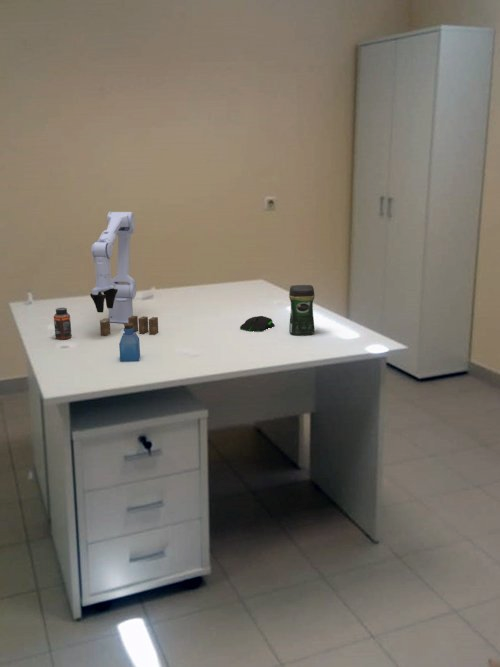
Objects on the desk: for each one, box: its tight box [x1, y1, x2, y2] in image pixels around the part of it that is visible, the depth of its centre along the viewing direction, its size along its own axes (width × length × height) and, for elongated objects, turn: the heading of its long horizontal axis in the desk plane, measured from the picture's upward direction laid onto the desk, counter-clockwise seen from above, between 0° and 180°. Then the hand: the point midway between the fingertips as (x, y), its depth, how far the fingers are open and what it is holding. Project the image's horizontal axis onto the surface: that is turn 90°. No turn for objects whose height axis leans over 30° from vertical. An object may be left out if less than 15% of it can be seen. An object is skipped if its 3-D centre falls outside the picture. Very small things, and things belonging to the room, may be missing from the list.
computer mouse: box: [239, 315, 276, 333], centre depth 282 cm, size 11×16×4 cm
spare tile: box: [99, 317, 111, 337], centre depth 272 cm, size 2×4×6 cm, turn 163°
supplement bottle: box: [53, 307, 72, 341], centre depth 267 cm, size 6×6×11 cm
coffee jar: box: [288, 284, 316, 336], centre depth 270 cm, size 10×8×19 cm
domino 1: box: [128, 315, 139, 333], centre depth 275 cm, size 2×4×6 cm, turn 163°
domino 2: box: [138, 315, 149, 335], centre depth 274 cm, size 2×4×6 cm, turn 163°
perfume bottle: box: [118, 323, 141, 363], centre depth 241 cm, size 6×6×12 cm
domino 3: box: [148, 316, 159, 336], centre depth 273 cm, size 2×4×6 cm, turn 163°
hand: (105, 310), depth 270 cm, fingers open, 7 cm apart
